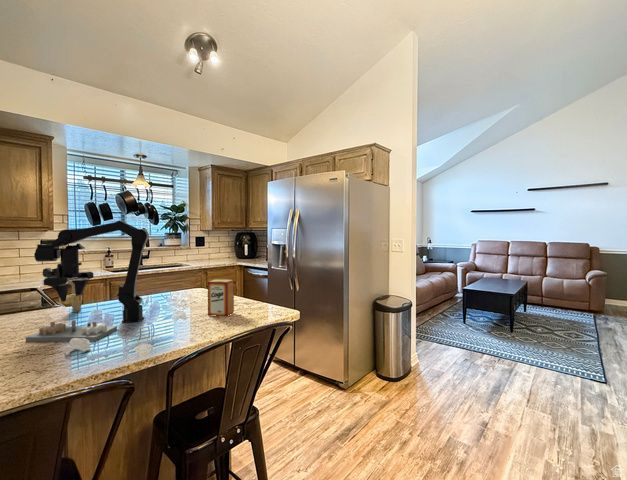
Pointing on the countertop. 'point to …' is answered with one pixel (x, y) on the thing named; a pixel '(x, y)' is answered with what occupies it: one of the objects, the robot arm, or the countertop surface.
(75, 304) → the handle
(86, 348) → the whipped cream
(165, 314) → the countertop surface
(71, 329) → the gear board
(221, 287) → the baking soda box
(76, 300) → the brass gear
